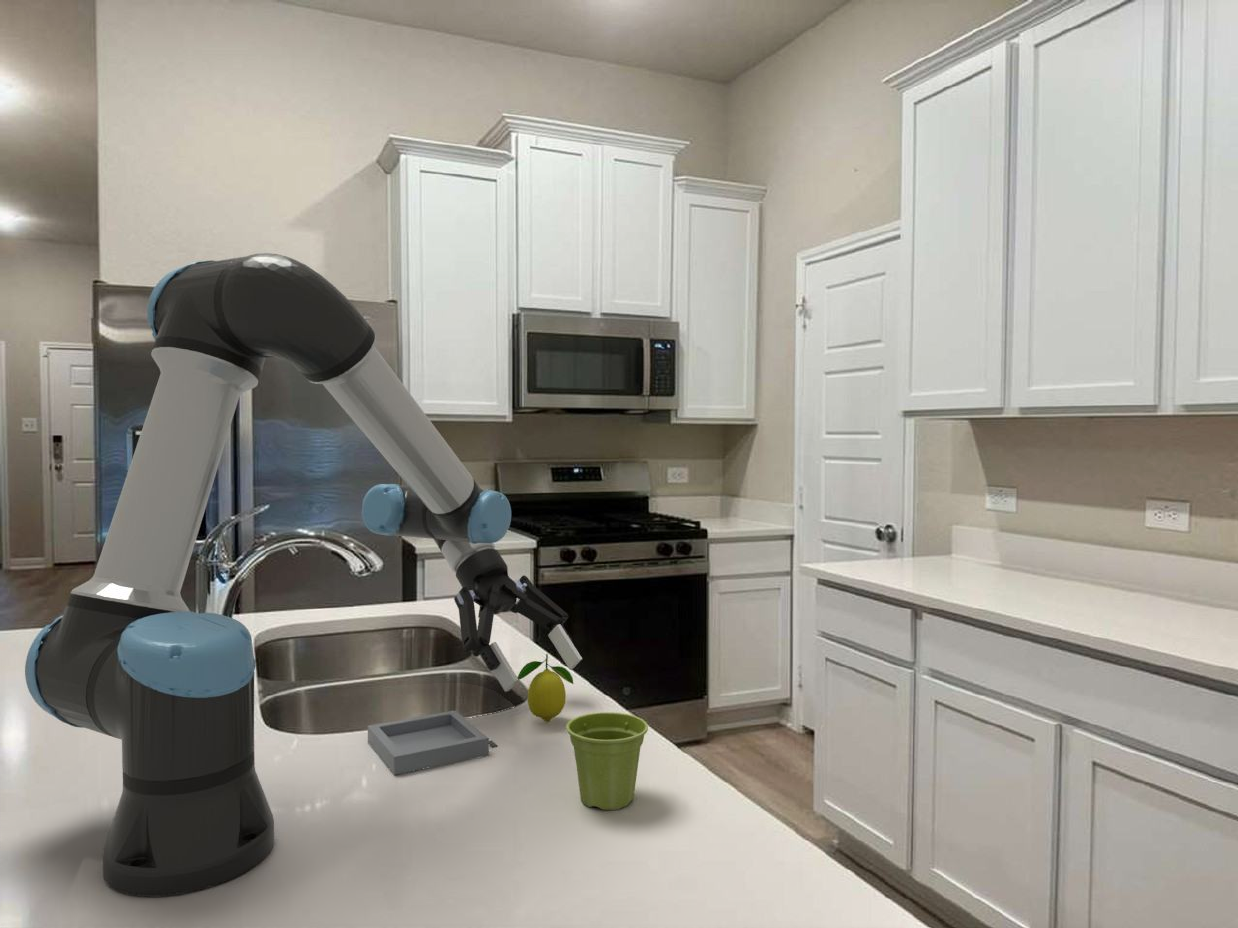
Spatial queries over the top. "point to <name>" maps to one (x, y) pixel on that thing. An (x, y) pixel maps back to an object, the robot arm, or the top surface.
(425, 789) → the top surface
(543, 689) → the lemon
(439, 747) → the dish
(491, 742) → the perforation strip
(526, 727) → the top surface
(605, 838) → the top surface
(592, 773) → the plant pot
